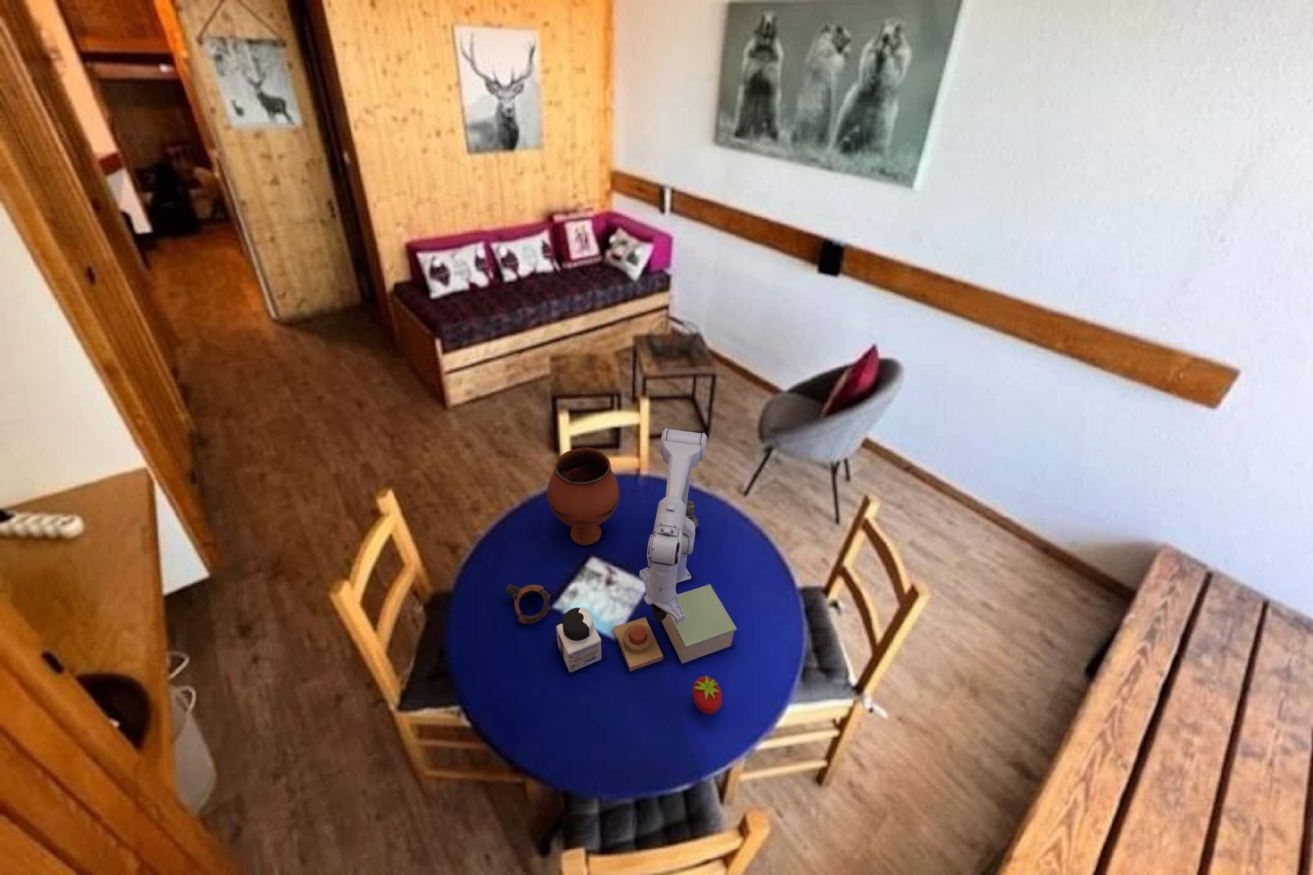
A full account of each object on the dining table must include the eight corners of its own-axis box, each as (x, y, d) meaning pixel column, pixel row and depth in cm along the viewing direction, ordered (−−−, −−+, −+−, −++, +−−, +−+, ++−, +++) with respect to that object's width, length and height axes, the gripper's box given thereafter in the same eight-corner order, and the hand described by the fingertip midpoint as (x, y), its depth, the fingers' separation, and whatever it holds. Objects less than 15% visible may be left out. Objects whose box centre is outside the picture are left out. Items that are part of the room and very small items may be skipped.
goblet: (582, 499, 171) (579, 432, 156) (633, 529, 163) (635, 460, 148) (536, 537, 158) (527, 468, 143) (589, 571, 150) (585, 501, 135)
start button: (627, 633, 132) (627, 628, 131) (642, 628, 133) (642, 624, 132) (633, 646, 129) (633, 641, 128) (648, 641, 131) (648, 636, 130)
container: (569, 673, 127) (566, 639, 119) (557, 645, 132) (554, 610, 124) (602, 659, 130) (601, 625, 122) (589, 632, 135) (587, 597, 127)
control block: (613, 631, 136) (613, 622, 134) (645, 621, 138) (645, 612, 136) (629, 671, 128) (629, 662, 126) (662, 659, 130) (663, 651, 128)
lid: (736, 630, 129) (736, 628, 129) (685, 648, 125) (685, 646, 125) (709, 586, 139) (710, 584, 139) (661, 601, 135) (661, 599, 135)
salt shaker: (695, 540, 160) (699, 509, 153) (674, 536, 161) (677, 505, 154) (698, 525, 165) (702, 494, 157) (678, 521, 166) (681, 491, 158)
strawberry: (697, 728, 118) (702, 703, 112) (685, 695, 124) (689, 669, 118) (724, 721, 120) (730, 696, 114) (711, 688, 126) (716, 662, 120)
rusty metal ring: (559, 596, 144) (557, 592, 136) (540, 632, 140) (538, 630, 132) (515, 576, 144) (512, 570, 137) (496, 611, 141) (491, 608, 133)
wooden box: (731, 646, 134) (734, 628, 130) (681, 663, 130) (684, 646, 126) (707, 603, 143) (709, 586, 139) (660, 619, 139) (661, 601, 135)
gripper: (627, 562, 122) (627, 602, 130) (666, 612, 112) (662, 651, 120) (655, 549, 125) (653, 589, 133) (695, 596, 116) (690, 636, 124)
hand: (659, 618), depth 127 cm, fingers closed
